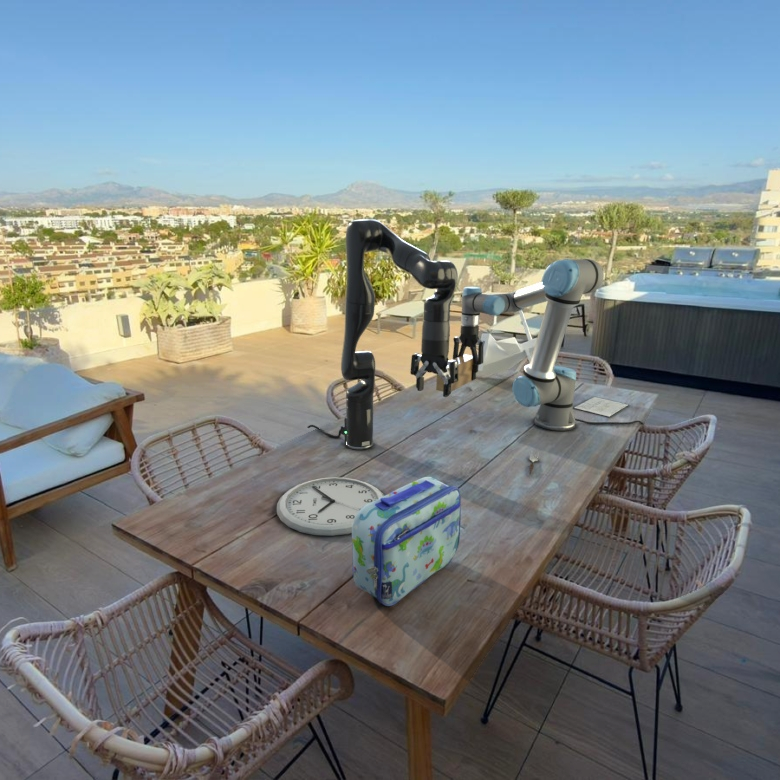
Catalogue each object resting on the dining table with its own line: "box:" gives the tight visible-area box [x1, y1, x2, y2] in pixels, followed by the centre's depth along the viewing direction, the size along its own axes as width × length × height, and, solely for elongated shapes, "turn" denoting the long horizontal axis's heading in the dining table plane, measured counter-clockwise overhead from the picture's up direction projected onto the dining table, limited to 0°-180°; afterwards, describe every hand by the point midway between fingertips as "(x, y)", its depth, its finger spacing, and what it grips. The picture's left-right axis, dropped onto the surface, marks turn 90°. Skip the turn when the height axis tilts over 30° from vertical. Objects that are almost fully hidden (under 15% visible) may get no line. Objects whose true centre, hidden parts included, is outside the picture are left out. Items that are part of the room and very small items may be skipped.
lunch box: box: [351, 476, 462, 607], centre depth 111 cm, size 26×11×21 cm, turn 135°
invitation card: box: [573, 396, 629, 418], centre depth 226 cm, size 21×1×15 cm
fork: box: [529, 450, 539, 475], centre depth 168 cm, size 3×16×2 cm, turn 160°
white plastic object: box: [476, 310, 537, 377], centre depth 259 cm, size 37×45×31 cm
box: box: [435, 353, 474, 392], centre depth 216 cm, size 25×6×10 cm, turn 146°
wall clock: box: [276, 476, 385, 537], centre depth 142 cm, size 30×2×30 cm
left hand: (433, 393), depth 147 cm, fingers open, 8 cm apart
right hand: (466, 378), depth 224 cm, fingers closed on box, 6 cm apart
